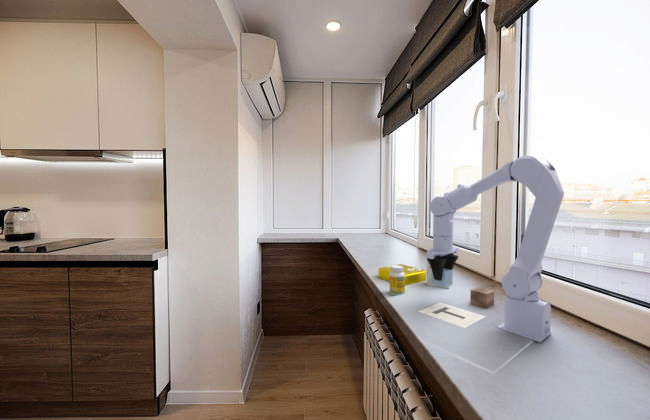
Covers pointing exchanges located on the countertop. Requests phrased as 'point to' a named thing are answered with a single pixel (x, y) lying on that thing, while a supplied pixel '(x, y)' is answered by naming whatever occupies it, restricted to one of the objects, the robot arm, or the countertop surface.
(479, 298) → the walnut block
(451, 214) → the robot arm
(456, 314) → the letter card
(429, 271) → the small box
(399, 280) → the supplement bottle
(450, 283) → the dusty blue cube
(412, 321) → the countertop surface
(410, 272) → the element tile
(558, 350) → the countertop surface
